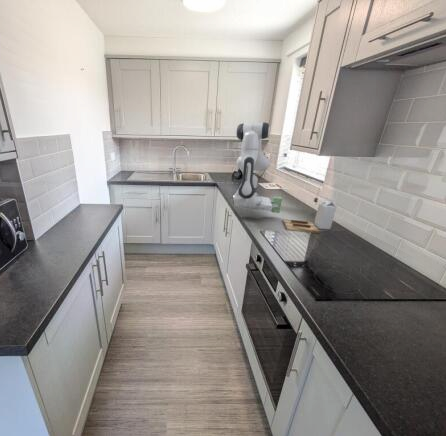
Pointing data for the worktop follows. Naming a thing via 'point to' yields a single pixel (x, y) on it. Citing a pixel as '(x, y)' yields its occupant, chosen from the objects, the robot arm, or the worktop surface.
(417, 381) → the worktop surface
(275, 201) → the back pad
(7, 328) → the worktop surface
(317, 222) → the milk carton
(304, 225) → the base pad
